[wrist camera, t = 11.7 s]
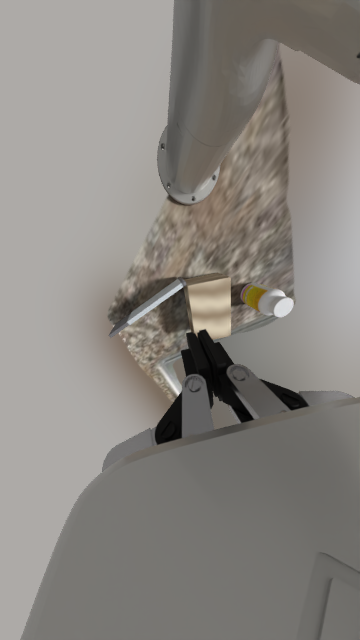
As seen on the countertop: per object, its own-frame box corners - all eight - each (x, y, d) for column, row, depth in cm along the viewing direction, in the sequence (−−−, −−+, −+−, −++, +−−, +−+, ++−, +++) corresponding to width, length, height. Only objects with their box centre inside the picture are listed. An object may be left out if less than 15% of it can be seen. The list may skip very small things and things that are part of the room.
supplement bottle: (238, 305, 43) (267, 323, 32) (240, 284, 40) (271, 296, 29) (259, 301, 44) (294, 318, 32) (261, 280, 41) (301, 290, 29)
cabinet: (182, 279, 38) (187, 286, 31) (217, 272, 38) (230, 277, 31) (190, 329, 45) (195, 343, 38) (219, 322, 45) (230, 335, 38)
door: (180, 276, 36) (184, 280, 30) (183, 279, 37) (187, 284, 31) (115, 323, 40) (107, 334, 34) (118, 326, 40) (111, 338, 34)
